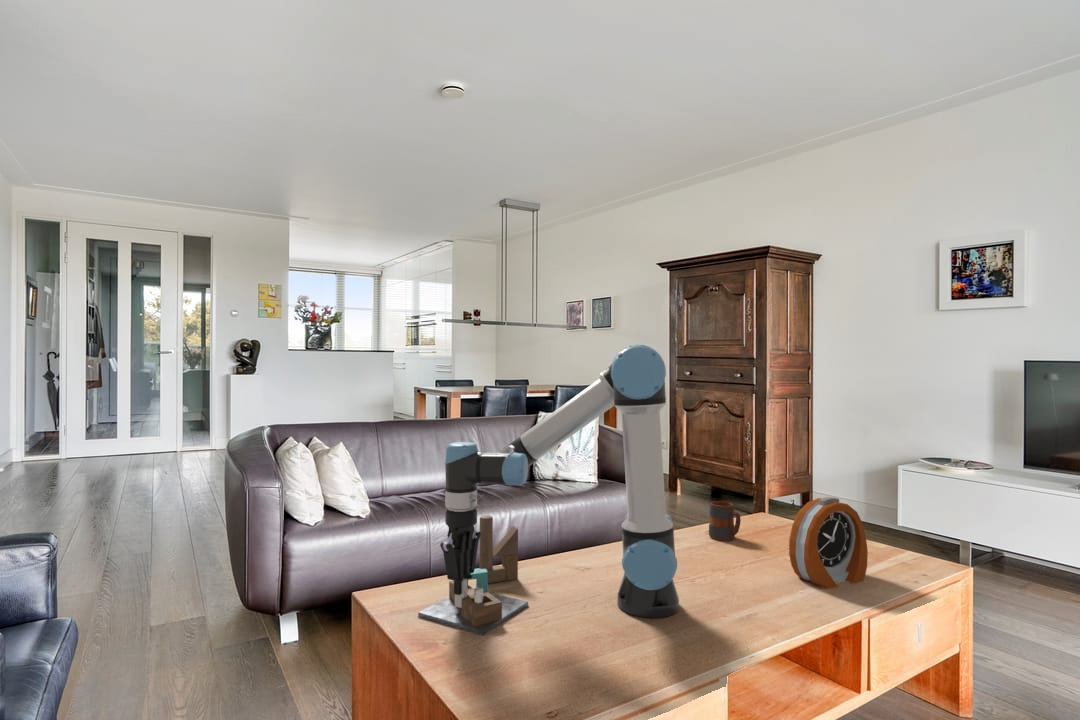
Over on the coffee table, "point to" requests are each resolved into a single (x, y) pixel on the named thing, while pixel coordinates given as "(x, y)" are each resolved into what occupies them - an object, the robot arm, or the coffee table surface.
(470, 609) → the link
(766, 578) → the coffee table surface
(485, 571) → the keeper
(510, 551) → the brown wooden bracket frame
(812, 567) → the alarm clock
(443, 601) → the base
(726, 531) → the mug
